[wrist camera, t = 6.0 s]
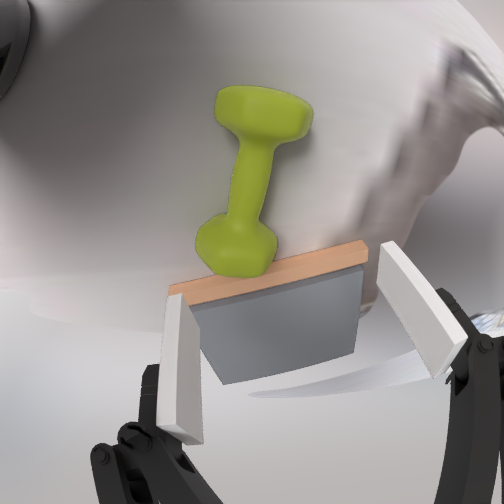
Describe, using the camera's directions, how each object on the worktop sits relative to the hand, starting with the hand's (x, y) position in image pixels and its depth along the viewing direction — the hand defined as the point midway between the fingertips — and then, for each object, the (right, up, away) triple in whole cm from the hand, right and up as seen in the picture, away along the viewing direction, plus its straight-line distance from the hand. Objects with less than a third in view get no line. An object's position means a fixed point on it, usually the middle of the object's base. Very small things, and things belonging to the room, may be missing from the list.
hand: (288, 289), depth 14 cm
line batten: (0, 0, +20) cm, 20 cm away
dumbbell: (-2, +10, +13) cm, 16 cm away
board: (+3, -11, +27) cm, 29 cm away
